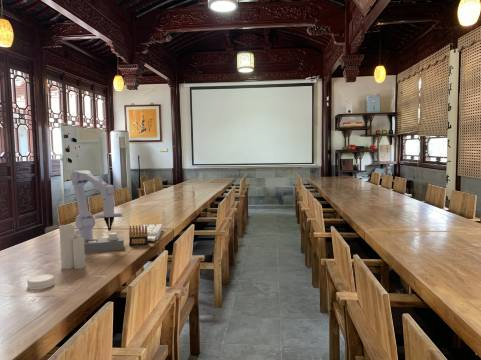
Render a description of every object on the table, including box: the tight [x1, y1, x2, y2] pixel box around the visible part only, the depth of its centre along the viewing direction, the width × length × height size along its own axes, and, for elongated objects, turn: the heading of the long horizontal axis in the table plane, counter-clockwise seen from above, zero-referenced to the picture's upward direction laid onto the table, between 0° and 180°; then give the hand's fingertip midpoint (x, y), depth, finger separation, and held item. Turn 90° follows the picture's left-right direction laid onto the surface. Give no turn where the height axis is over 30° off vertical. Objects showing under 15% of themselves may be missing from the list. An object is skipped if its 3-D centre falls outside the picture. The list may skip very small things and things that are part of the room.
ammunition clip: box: [128, 224, 149, 247], centre depth 222 cm, size 11×2×12 cm, turn 102°
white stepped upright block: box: [58, 224, 86, 270], centre depth 182 cm, size 11×7×20 cm, turn 92°
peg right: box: [108, 232, 118, 241], centre depth 216 cm, size 4×4×4 cm
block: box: [84, 236, 125, 254], centre depth 214 cm, size 22×10×5 cm, turn 110°
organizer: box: [135, 223, 163, 242], centre depth 244 cm, size 13×5×35 cm
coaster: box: [26, 273, 55, 291], centre depth 158 cm, size 10×10×4 cm
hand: (109, 230), depth 215 cm, fingers closed
